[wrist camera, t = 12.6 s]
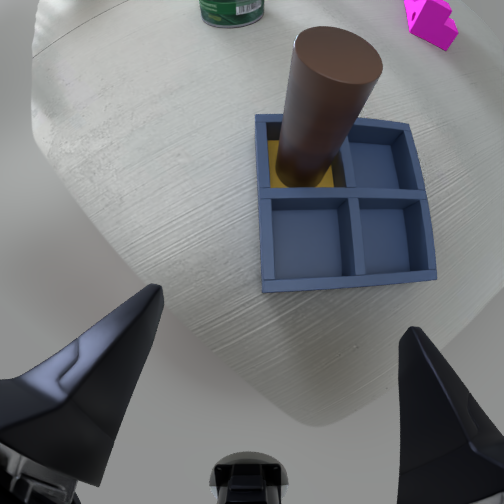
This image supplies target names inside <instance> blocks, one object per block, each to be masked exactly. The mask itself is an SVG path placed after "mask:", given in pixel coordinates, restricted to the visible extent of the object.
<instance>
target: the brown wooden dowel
mask: <svg viewBox="0 0 504 504" xmlns="http://www.w3.org/2000/svg"><path fill="white" fill-rule="evenodd" d="M382 70H383V64H382V60H381V58H380V56H379V54H378V52H377V51H376V50H375V49H374V47H373V46H372V45H371V44H369V43H368V42H367V41H366V40H364V39H363V38H361V37H359V36H358V35H356V34H354V33H352V32H349V31H347V30H343V29H340V28H335V27H328V26H319V27H312V28H309V29H306V30H304V31H302V32H301V33H300V34H298V35H297V37H296V38H295V41H294V46H293V53H292V59H291V66H290V73H289V79H288V86H287V93H286V99H285V106H284V112H283V119H282V125H281V132H280V138H279V144H278V151H277V157H276V164H275V170H276V174H277V176H278V178H279V180H280V181H281V182H282V183H283V184H284V185H285V186H287V187H289V188H297V187H316V186H317V185H318V184H319V183H320V182H321V180H322V179H323V177H324V175H325V174H326V172H327V170H328V168H329V167H330V165H331V163H332V161H333V160H334V158H335V156H336V154H337V153H338V151H339V149H340V147H341V146H342V144H343V142H344V140H345V139H346V137H347V135H348V133H349V131H350V130H351V128H352V126H353V124H354V123H355V121H356V119H357V117H358V115H359V114H360V112H361V110H362V108H363V106H364V105H365V103H366V101H367V99H368V97H369V95H370V94H371V92H372V90H373V88H374V86H375V84H376V83H377V81H378V79H379V77H380V75H381V73H382Z"/></svg>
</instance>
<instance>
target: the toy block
mask: <svg viewBox="0 0 504 504" xmlns="http://www.w3.org/2000/svg"><path fill="white" fill-rule="evenodd" d="M404 3H405V8H406V13H407V19H408V25H409V32H410V33H412V34H414V35H416V36H418V37H420V38H422V39H424V40H426V41H428V42H430V43H432V44H434V45H436V46H438V47H439V48H441V49H443V50H445V51H446V50H447V49H448V48H449V46H450V45H451V43H452V42H453V40H454V39H455V38H456V36H457V35H458V30H457V28H456V25H455V23H454V20H452V19H451V18H449V16H450V14H451V12H452V10H451V8H450V5H449V3H447V2H445V1H443V0H404Z"/></svg>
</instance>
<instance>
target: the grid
mask: <svg viewBox="0 0 504 504" xmlns="http://www.w3.org/2000/svg"><path fill="white" fill-rule="evenodd" d="M282 119H283V114H256V115H255V148H256V168H257V188H258V210H259V232H260V255H261V278H262V293H273V292H293V291H311V290H326V289H341V288H355V287H367V286H379V285H390V284H401V283H411V282H421V281H430V280H437V270H436V257H435V247H434V239H433V231H432V224H431V217H430V211H429V205H428V200H427V195H426V191H425V185H424V180H423V176H422V171H421V167H420V163H419V159H418V155H417V151H416V147H415V144H414V140H413V137H412V133H411V130H410V127H409V124H406V123H400V122H393V121H385V120H377V119H368V118H358V117H357V119H356V121H355V123H354V124H353V126H352V128H351V130H350V131H349V133H348V135H347V137H346V139H345V140H344V142H343V144H342V146H341V147H340V149H339V151H338V153H337V154H336V156H335V158H334V160H333V161H332V163H331V165H330V167H329V168H328V170H327V172H326V174H325V175H324V177H323V179H322V180H321V182H320V183H319V184H318V185H317V186H316V187H297V188H289V187H287V186H285V185H284V184H283V183H282V182H281V181H280V180H279V178H278V176H277V174H276V170H275V164H276V157H277V151H278V144H279V138H280V132H281V125H282Z"/></svg>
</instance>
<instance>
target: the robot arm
mask: <svg viewBox="0 0 504 504" xmlns="http://www.w3.org/2000/svg"><path fill="white" fill-rule="evenodd" d="M163 308H164V296H163V289H162V286H160V285H157V284H152V283H151V284H149V285H147V286H146V287H145V288H143V289H142V290H140V291H139V292H138V293H136V294H135V295H134V296H132V297H131V298H129V299H128V300H127V301H125V302H124V303H123V304H121V305H120V306H119V307H117V308H116V309H115V310H113V311H112V312H111V313H109V314H108V315H106V316H105V317H104V318H103V319H101V320H100V321H99V322H97V323H96V324H95V325H93V326H92V327H91V328H90V329H88V330H87V331H86V332H84V333H83V334H81V335H80V336H79V337H78V338H76V339H75V340H73V341H72V342H71V343H70V344H68V345H67V346H66V347H64V348H63V349H62V350H60V351H59V352H57V353H56V354H54V355H53V356H51V357H50V358H48V359H47V360H45V361H43V362H42V363H40V364H39V365H37V366H35V367H34V368H32V369H31V370H29V371H27V372H26V373H24V374H22V375H20V376H18V377H15V378H12V379H2V380H0V504H81V502H80V500H79V498H78V496H77V494H76V492H75V489H76V486H77V483H78V480H79V481H82V482H85V483H88V484H90V485H94V486H96V487H99V486H100V483H101V480H102V478H103V474H104V471H105V468H106V465H107V462H108V459H109V456H110V454H111V451H112V448H113V445H114V441H115V439H116V436H117V433H118V431H119V428H120V425H121V422H122V420H123V417H124V415H125V412H126V409H127V407H128V404H129V402H130V399H131V396H132V394H133V391H134V389H135V386H136V384H137V381H138V379H139V376H140V374H141V371H142V369H143V366H144V364H145V362H146V359H147V356H148V354H149V352H150V349H151V347H152V344H153V341H154V338H155V334H156V331H157V328H158V324H159V321H160V318H161V314H162V311H163ZM398 384H399V401H400V469H399V485H398V496H397V504H504V436H503V435H502V434H501V433H500V431H499V430H498V429H497V428H496V426H495V425H494V424H493V423H492V421H491V420H490V419H489V417H488V416H487V415H486V414H485V412H484V411H483V410H482V409H481V407H480V406H479V404H478V403H477V402H476V400H475V399H474V397H473V396H472V395H471V393H469V391H468V389H467V388H466V386H465V385H464V383H463V382H462V381H461V379H460V378H459V377H458V375H457V374H456V373H455V371H454V370H453V369H452V367H451V366H450V365H449V363H448V362H447V361H446V359H445V358H444V357H443V355H442V354H441V353H440V352H439V350H438V349H437V348H436V347H435V345H434V344H433V343H432V341H431V340H430V339H429V338H428V336H427V335H426V334H425V333H424V332H423V330H422V329H421V328H420V327H414V326H411V327H409V328H408V329H407V331H406V332H405V333H404V335H403V336H402V337H401V339H400V341H399V368H398ZM275 467H278V468H277V469H274V468H275ZM217 468H221V470H219V469H217ZM214 474H215V481H216V489H217V496H218V501H217V504H281V465H280V464H278V463H272V464H217V465H215V467H214Z"/></svg>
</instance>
